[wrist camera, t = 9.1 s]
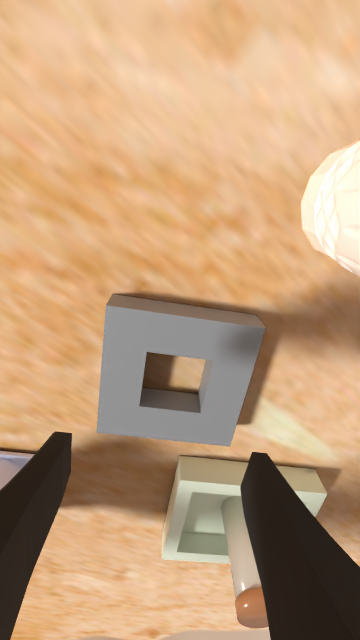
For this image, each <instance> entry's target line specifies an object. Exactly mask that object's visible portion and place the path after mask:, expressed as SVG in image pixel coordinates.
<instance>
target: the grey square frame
mask: <svg viewBox="0 0 360 640" xmlns="http://www.w3.org/2000/svg"><path fill="white" fill-rule="evenodd" d="M265 330H266V328H265V326H264V325H263V323H262V322H261V320H260V319H259V318H258V316H257V315H253V314H246V313H239V312H233V311H226V310H219V309H212V308H205V307H199V306H192V305H185V304H178V303H171V302H164V301H158V300H151V299H144V298H137V297H130V296H123V295H117V294H112V296H111V298H110V299H109V301H108V303H107V304H106V312H105V326H104V339H103V353H102V366H101V380H100V393H99V407H98V421H97V433H105V434H115V435H124V436H134V437H143V438H153V439H162V440H172V441H182V442H191V443H201V444H210V445H220V446H229V447H230V444H231V441H232V438H233V434H234V431H235V428H236V425H237V421H238V418H239V415H240V412H241V408H242V405H243V402H244V398H245V395H246V392H247V389H248V385H249V382H250V379H251V375H252V372H253V369H254V366H255V362H256V359H257V356H258V353H259V349H260V346H261V343H262V339H263V336H264V333H265ZM147 352H152V353H159V354H167V355H175V356H182V357H190V358H198V359H205V360H206V362H205V366H204V371H203V375H202V379H201V384H200V388H199V392H198V394H192V393H184V392H176V391H167V390H159V389H150V388H142V384H143V377H144V370H145V363H146V355H147Z"/></svg>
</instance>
